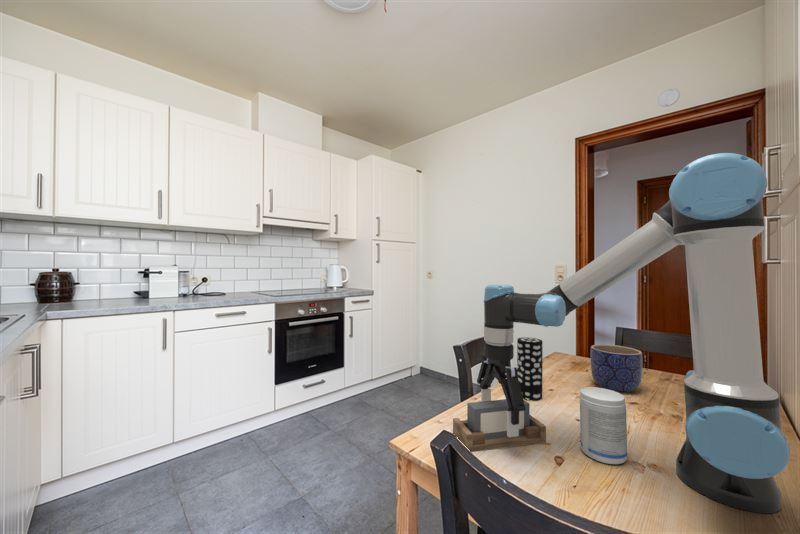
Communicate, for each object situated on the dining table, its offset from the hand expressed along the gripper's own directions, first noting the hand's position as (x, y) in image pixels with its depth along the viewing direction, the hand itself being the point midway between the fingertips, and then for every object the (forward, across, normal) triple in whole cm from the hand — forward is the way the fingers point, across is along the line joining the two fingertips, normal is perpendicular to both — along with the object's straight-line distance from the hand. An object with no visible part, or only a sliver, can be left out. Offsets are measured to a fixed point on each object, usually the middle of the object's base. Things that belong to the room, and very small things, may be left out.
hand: (498, 423), depth 84 cm
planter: (+4, +25, -64) cm, 69 cm away
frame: (+3, 0, 0) cm, 3 cm away
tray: (+4, 0, 0) cm, 4 cm away
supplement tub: (+4, -12, -21) cm, 25 cm away
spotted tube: (+4, +24, -26) cm, 36 cm away
